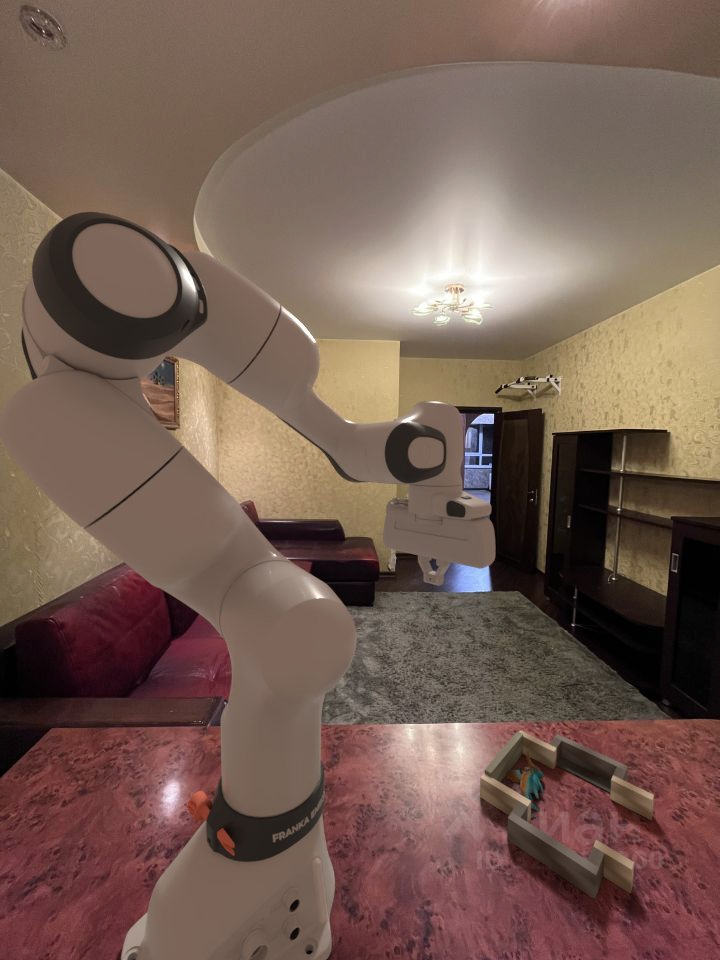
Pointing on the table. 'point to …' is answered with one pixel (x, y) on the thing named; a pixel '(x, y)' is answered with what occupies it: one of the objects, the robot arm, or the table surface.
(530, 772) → the dragon figurine
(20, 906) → the table surface
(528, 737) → the channel
